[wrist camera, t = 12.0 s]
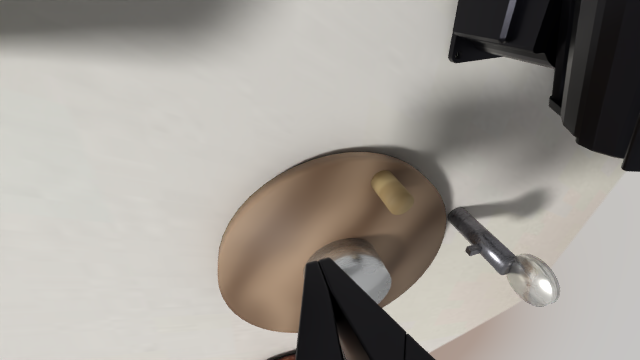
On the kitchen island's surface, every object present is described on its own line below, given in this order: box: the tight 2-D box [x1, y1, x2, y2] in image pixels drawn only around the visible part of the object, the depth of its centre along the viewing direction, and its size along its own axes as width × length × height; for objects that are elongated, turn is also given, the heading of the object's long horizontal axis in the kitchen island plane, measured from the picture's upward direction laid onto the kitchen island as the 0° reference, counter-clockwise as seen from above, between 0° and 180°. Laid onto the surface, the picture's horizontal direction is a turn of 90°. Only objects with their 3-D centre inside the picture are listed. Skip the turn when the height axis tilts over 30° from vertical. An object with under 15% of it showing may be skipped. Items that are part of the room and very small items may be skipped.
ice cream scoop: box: [448, 207, 560, 307], centre depth 25 cm, size 3×4×10 cm
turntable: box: [218, 152, 446, 333], centre depth 25 cm, size 21×21×4 cm
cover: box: [303, 238, 391, 304], centre depth 25 cm, size 7×7×3 cm
